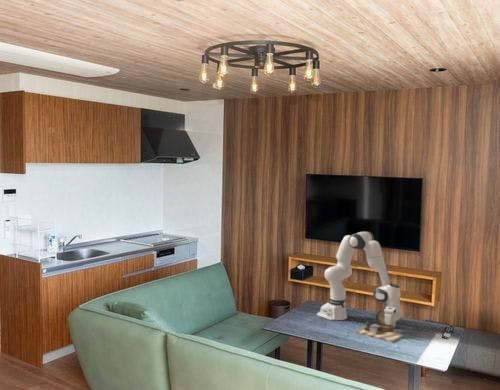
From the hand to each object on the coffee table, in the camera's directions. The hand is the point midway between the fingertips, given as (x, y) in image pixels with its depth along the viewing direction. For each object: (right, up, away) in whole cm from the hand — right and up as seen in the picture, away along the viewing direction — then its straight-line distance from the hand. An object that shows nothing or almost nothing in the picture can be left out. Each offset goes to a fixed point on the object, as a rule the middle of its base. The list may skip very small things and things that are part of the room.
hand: (393, 328), depth 324 cm
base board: (-11, -3, -5) cm, 12 cm away
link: (-10, -1, -1) cm, 10 cm away
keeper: (-13, -2, -4) cm, 14 cm away
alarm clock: (-3, -2, +12) cm, 12 cm away
